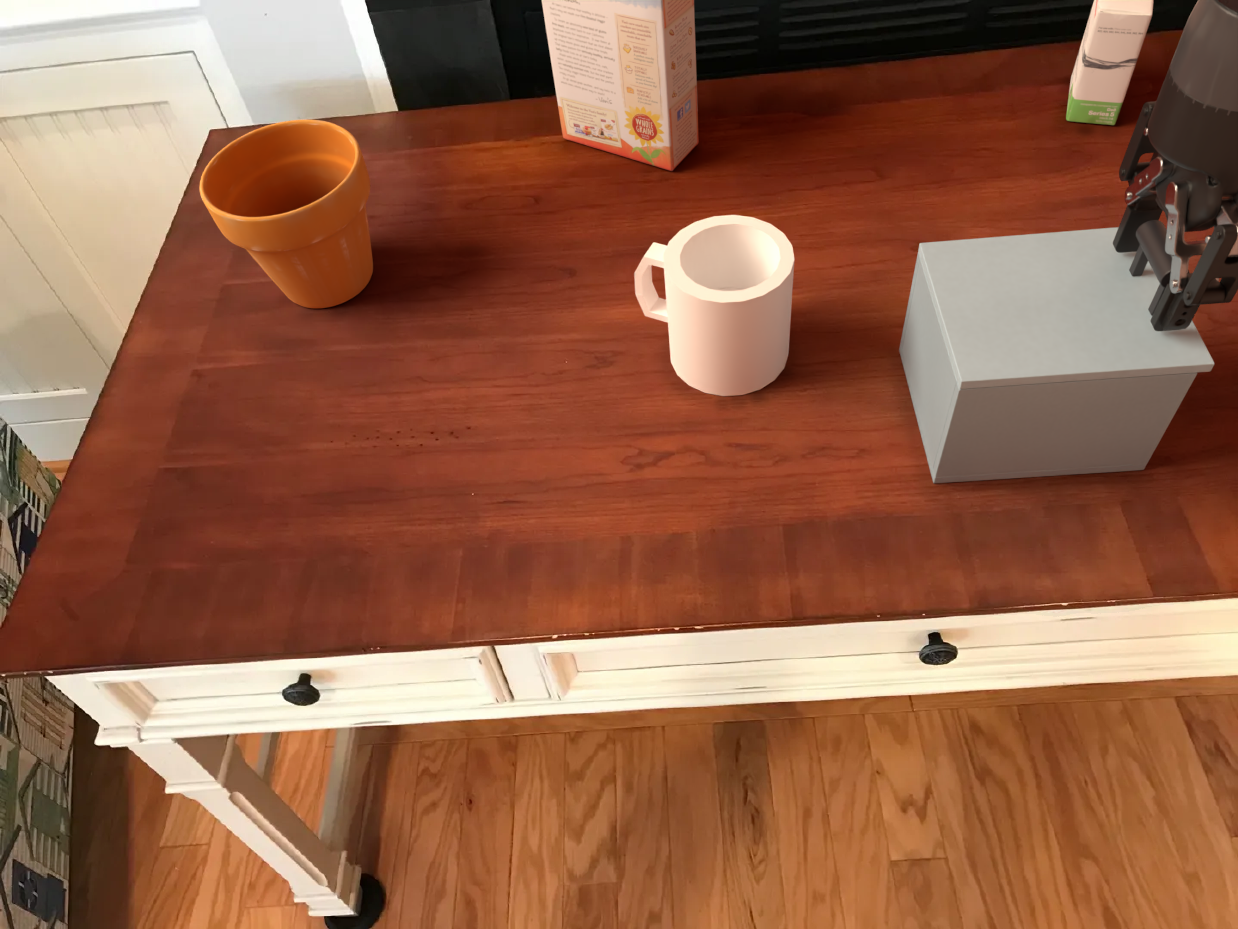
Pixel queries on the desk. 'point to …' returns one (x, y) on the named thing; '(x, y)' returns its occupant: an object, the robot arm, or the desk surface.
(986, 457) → the chest
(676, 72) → the cracker box
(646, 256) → the mug
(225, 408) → the desk surface
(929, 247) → the freezer lid
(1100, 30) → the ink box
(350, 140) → the flower pot
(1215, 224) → the robot arm
